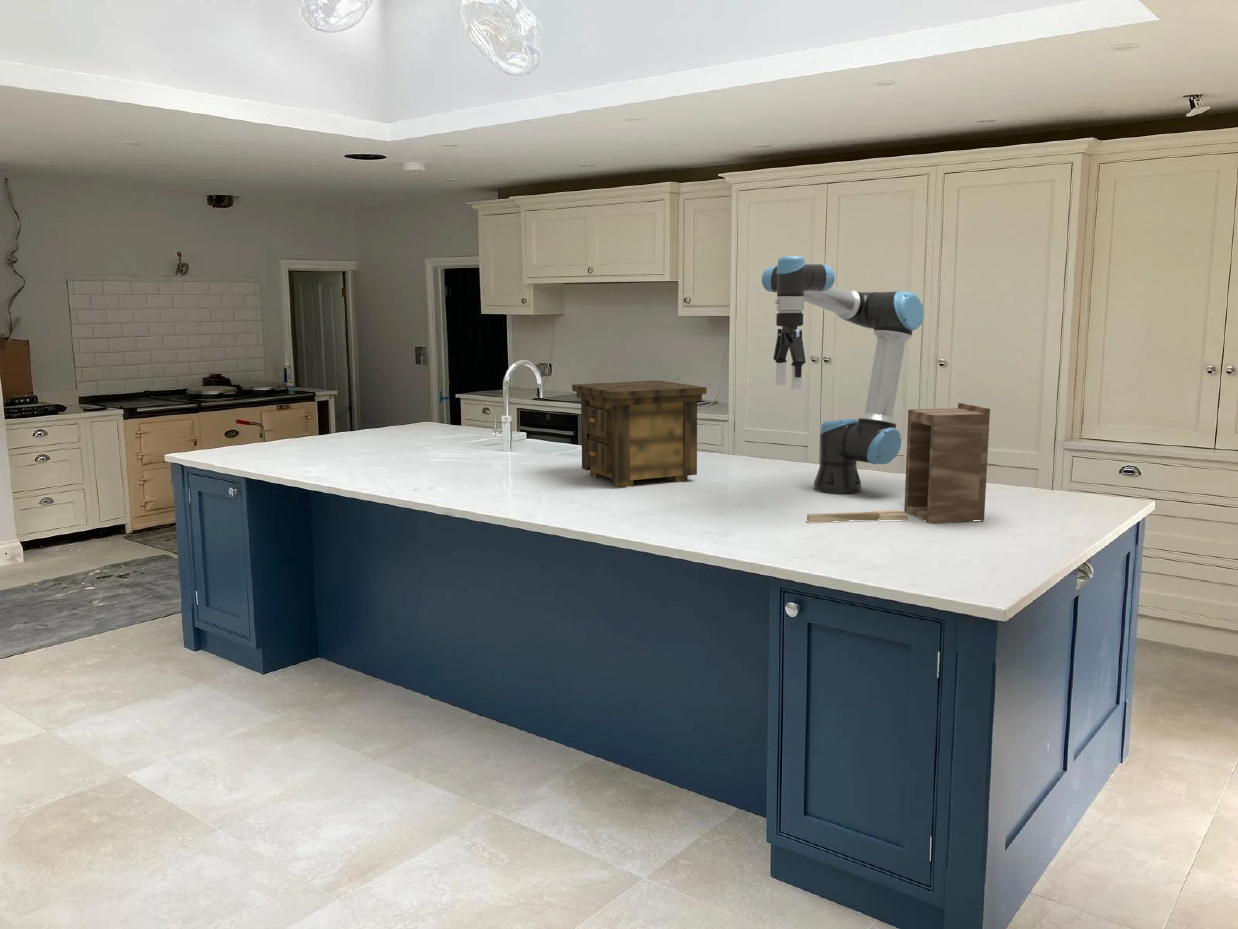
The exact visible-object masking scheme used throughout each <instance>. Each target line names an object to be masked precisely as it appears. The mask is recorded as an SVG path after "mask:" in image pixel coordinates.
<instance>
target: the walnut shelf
mask: <svg viewBox="0 0 1238 929" xmlns="http://www.w3.org/2000/svg"><path fill="white" fill-rule="evenodd" d="M990 418H991V408H988V407H983V406H979V405H974V404H973V405H972V404H967V403H963V402H958V403H957V407H955V408H954V407H952V408H951V407H950V408H921V409H920V408H917V409H915V408H914V409H908V412H907V435H906V455H905V456H906V459H905V460H906V462H905V481H904V482H905V484H904V485H905V486H904V505H903V507H904V510H903V512H904V511H905V513H906V512H907V514H908V513H910V514H912V515H914V516H913V517H915V516H916V517H915V518H917V517H919V518H921V519H922V520H921V519H920V520H921V521H923V520H926V521H927V522H926V521H925V522H926V523H928V522H929V523H928V524H930V523H935V524H946V523H945V522H956V523H962V522H961V521H973V520H984V521H985V508H986V493H987V492H986V491H987V475H988V473H987V471H988V458H989V457H988V455H989V453H988V452H989V440H990V439H989V436H990V422H991V421H990ZM910 514H909V515H910ZM912 515H911V516H912ZM919 518H918V519H919ZM943 522H944V523H943Z"/></svg>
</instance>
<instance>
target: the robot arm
mask: <svg viewBox="0 0 1238 929" xmlns="http://www.w3.org/2000/svg"><path fill="white" fill-rule="evenodd" d="M805 262H806V261H805V258H804V257H803V256H799V255H795V256H794V255H793V256H791V255H790V256H780V257H779V258H778V260H777V265H775V266H769V267H766V269H764V270H763V273H762V277H761V285H762V287H763V288H764V290H766V291H767V292H771V293H776V300H775V301H774V303H775V304H776V311H777V313H776V314H775V318H776V320H775V321H776V322H775V324H776V326H777V327H781V328H778V329H777V335H776V336H777V337H776V341H775V348H774V353H773V357H772V358H773V360H774V361H775V365H776V366H775V386H786V384H787V383H786V379H787V378H786V377H787V375H786V373H787V370H786V369H787V362H788V361H787V355H788V352H789V353H790V356H791V361H792V362H791V363H790V366H791V390H802V387H803V386H802V385H803V384H802V382H803V365H804V364H806V354H805V348H804V341H803V330H802V329H798V327H802V326H804V313H803V312H804V308H805V307H804V304H805V302H806V303H808V304H811V305H814V306H817V307H819V308H820V309H821V308H822V309H824V310H827V311H830V312H833V313H835V314H836V316H837V317H838V318H839V319H841V320H842V321H843V320H844V321H846V322H849V323H852V324H853V325H856V326H859V327H862V328H867V329H870V330H871V329H872V330H873V334H874V336H876V338H877V339H876V345H875V351H874V357H873V363H872V368H871V372H870V373H871V374H870V379H869V380H870V381H869V385H868V390H867V391H868V392H867V398H866V403H865V408H864V413H863V414H862V415H860V416H859V417H858V419H857V418H847V419H835V420H834V419H833V420H826V421H823V422H822V424H821V427H820V434H819V436H820V437H819V438H820V442H819V444H820V446H819V448H820V450H819V467H818V470H817V473H816V476H815V479H814V482H813V490H815V491H817V490H819V491H818V492H820V491H822V492H821V493H826V492H827V494H840V493H843V494H853V493H855V492H856V493H859V492H861V491H862V481H861V478H860V475H859V474H860V473H859V471H858V469H857V468H858V467H857V462H861V463H868V464H871V465H886V464H889V463H892V461H893V460H894V459H895V458H896V457H897V456H898V454H899V453H900V450H901V447H902V437H901V433H900V430H898V429H897V422H896V421H895V420H894V417H893V416H894V410H895V404H896V400H897V399H896V398H897V394H898V387H899V381H900V376H901V370H902V364H903V359H904V353H905V346H906V342H907V341H908V340H910V339H911V338H912V336H913V331H915V330H917V329H919V328H920V326H921V325H922V324H923V321H924V306H923V304H922V302H921V299H920V298H919V297H918V295H916V294H915V293H914V292H911V291H902V290H899V291H879V292H878V291H872V292H871V291H870V292H869V291H868V292H867V291H866V292H865V291H864V292H862V291H856V290H854V289H847V290H846V289H844V288H843V289H842V288H840V287H838V286H835V285H834V284H835V280H836V273H835V271H834V269H833V268H832V267H831V266H830V265H827V264H823V263H818V264H817V263H816V264H815V263H814V264H811V263H810V264H809V263H808V264H807V263H805ZM802 311H803V312H802ZM860 490H861V491H860ZM858 491H859V492H858Z"/></svg>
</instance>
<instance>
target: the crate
mask: <svg viewBox="0 0 1238 929" xmlns="http://www.w3.org/2000/svg"><path fill="white" fill-rule="evenodd" d="M571 389H572V390H571V391H572V392H574V393H576V398H577V399H580V421H581V422H580V425H581V426H580V427H581V429H580V430H581V431H580V432H581V469H582V470H584V471H590V476H591V477H593V476H595V477H594V478H602V477H601V476H606V477H605V478H609V479H611V481H613V482H614V485H615V486H616V487H619V486H620V487H619V488H624V487H623V486H629V487H634V481H637V480H639V481H640V480H647V479H660V478H668V477H669V480H670V479H671V480H673V481H672V482H674V481H675V482H676V483H679V482H678V481H681V482H687V481H686V480H689V479H688V477H689V476H697V475H698V402H702V401H703V395H707V390H708V389H707V386H702V385H701V386H700V385H692V384H688V383H687V384H686V383H680V382H674V381H673V382H672V381H666V380H665V381H664V380H644V381H642V380H640V381H639V380H638V381H619V382H618V381H617V382H599V383H598V382H597V383H578V384H577V383H575V384H571ZM671 480H670V481H671Z"/></svg>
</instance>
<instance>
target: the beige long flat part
mask: <svg viewBox="0 0 1238 929" xmlns="http://www.w3.org/2000/svg"><path fill="white" fill-rule="evenodd" d="M878 519H879V520H908V521H909V514H908V513H906V512H904V510H900V509H892V510H873V511H862V512H859V511H857V512H836V513H835V512H834V513H833V512H832V513H831V512H830V513H828V512H827V513H807V514H806V521H807V520H808V521H809V522H832V523H834V522H833V521H849V520H878Z"/></svg>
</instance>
